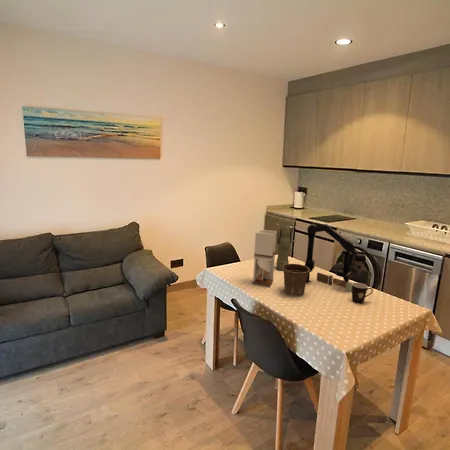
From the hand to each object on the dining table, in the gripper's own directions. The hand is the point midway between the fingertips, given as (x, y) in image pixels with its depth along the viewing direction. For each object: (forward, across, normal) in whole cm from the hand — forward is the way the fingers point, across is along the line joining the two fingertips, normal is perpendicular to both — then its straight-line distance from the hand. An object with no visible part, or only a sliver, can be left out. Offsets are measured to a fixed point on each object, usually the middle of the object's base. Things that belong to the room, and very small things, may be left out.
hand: (346, 283), depth 216 cm
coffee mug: (+3, -14, -16) cm, 21 cm away
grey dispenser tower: (+1, -38, +39) cm, 54 cm away
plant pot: (+2, -34, +17) cm, 38 cm away
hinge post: (+2, -3, +14) cm, 15 cm away
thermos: (+1, -4, +49) cm, 49 cm away
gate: (+2, -2, +1) cm, 3 cm away
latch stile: (+3, -5, -4) cm, 7 cm away
